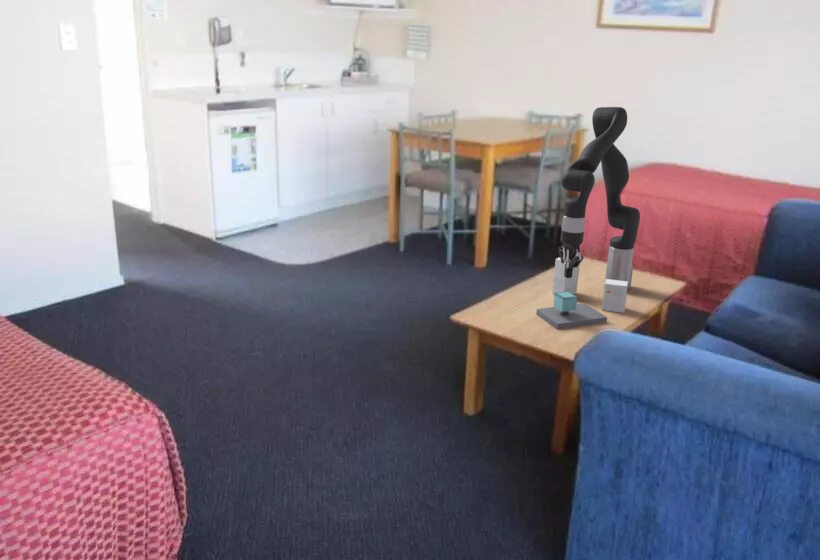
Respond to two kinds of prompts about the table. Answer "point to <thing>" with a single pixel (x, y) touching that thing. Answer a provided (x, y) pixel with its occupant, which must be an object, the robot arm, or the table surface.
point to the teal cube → (565, 301)
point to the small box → (615, 295)
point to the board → (571, 316)
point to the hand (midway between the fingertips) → (567, 277)
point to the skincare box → (564, 279)
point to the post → (564, 312)
